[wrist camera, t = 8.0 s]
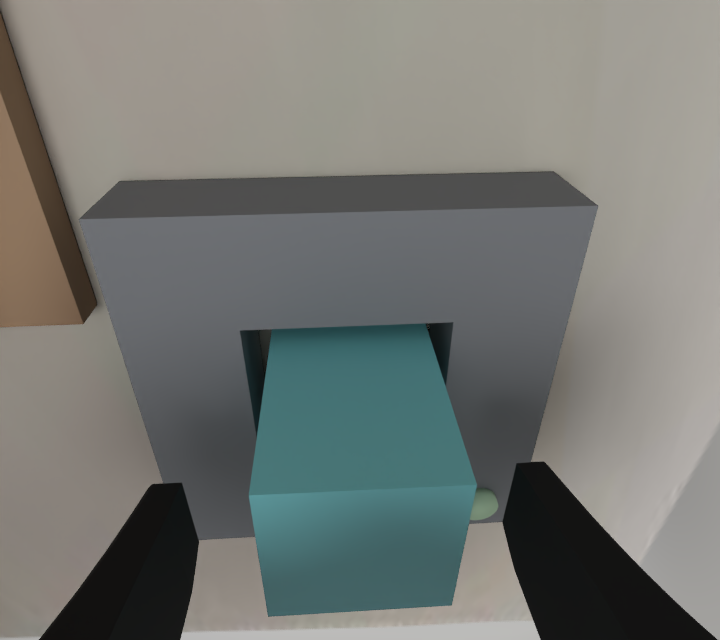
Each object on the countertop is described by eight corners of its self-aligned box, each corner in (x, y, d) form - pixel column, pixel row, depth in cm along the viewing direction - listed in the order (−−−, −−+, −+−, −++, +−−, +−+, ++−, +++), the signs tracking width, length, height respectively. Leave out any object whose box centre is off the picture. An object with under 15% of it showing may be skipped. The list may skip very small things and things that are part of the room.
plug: (286, 398, 17) (268, 616, 11) (276, 292, 15) (248, 495, 9) (405, 393, 17) (451, 604, 11) (414, 289, 15) (476, 484, 9)
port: (197, 478, 18) (179, 549, 16) (118, 181, 13) (72, 224, 10) (493, 463, 19) (518, 528, 17) (553, 171, 13) (604, 210, 11)
